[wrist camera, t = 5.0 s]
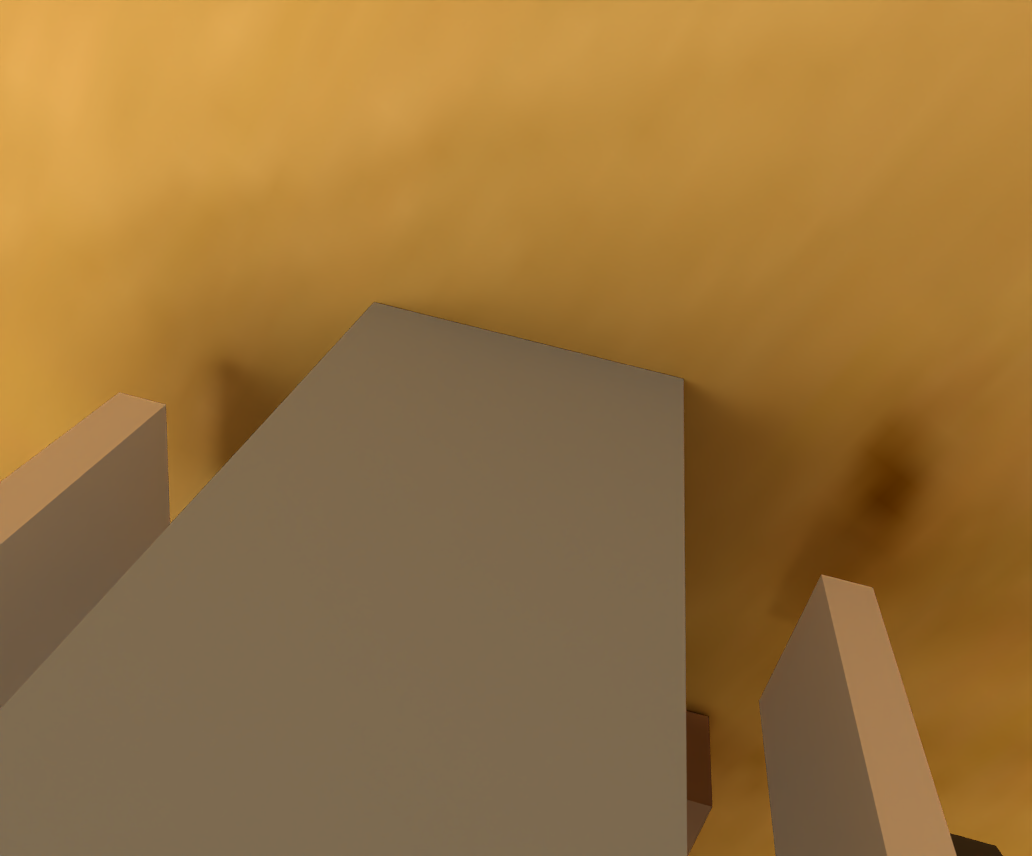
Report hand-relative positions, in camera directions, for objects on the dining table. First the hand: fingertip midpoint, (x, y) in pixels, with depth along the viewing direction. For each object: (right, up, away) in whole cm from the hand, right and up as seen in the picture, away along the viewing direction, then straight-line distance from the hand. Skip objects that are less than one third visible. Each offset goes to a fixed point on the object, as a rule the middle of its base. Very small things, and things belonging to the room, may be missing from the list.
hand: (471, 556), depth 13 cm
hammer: (-1, -3, +4) cm, 5 cm away
